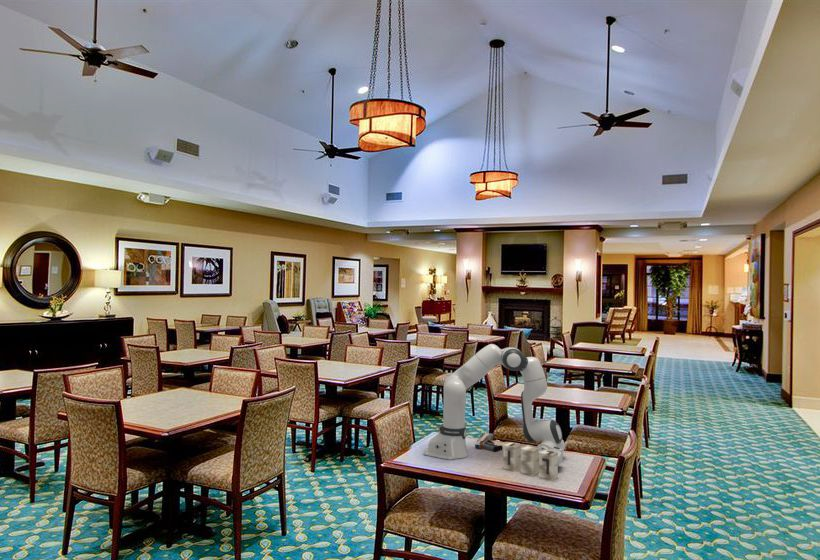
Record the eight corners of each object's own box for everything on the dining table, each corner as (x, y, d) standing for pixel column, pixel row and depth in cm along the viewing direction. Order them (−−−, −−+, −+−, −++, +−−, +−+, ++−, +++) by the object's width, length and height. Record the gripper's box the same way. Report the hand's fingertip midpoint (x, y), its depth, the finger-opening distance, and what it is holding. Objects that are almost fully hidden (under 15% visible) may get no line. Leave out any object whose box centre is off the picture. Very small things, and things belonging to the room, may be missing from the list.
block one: (503, 468, 240) (503, 444, 240) (509, 465, 245) (509, 442, 245) (514, 471, 236) (514, 447, 236) (521, 468, 241) (521, 444, 241)
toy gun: (500, 453, 265) (472, 450, 269) (508, 439, 292) (482, 436, 297) (501, 447, 265) (472, 444, 270) (509, 434, 292) (482, 431, 297)
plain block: (520, 473, 234) (520, 448, 235) (526, 469, 239) (526, 445, 239) (533, 476, 230) (533, 451, 231) (538, 472, 235) (538, 448, 235)
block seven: (539, 477, 228) (539, 452, 229) (545, 474, 233) (545, 449, 234) (551, 481, 225) (552, 455, 225) (557, 477, 229) (557, 452, 230)
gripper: (525, 441, 255) (512, 447, 244) (565, 449, 242) (553, 456, 231) (525, 454, 254) (512, 461, 244) (565, 463, 242) (553, 470, 231)
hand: (532, 459), depth 237 cm, fingers closed, pressing on plain block
